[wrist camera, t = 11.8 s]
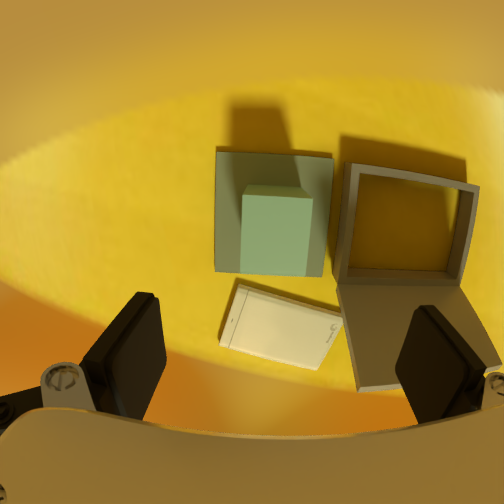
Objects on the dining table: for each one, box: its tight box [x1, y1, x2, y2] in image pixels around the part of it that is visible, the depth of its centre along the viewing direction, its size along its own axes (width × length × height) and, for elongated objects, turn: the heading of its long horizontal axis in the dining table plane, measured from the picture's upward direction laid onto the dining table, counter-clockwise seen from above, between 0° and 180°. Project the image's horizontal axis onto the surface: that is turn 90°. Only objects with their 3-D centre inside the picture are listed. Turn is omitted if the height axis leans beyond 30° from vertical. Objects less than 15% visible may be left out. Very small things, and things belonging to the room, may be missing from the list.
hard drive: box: [219, 284, 343, 370], centre depth 33 cm, size 2×8×12 cm
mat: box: [215, 152, 334, 277], centre depth 28 cm, size 11×12×1 cm
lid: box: [336, 284, 502, 393], centre depth 23 cm, size 16×12×2 cm
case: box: [332, 162, 480, 286], centre depth 27 cm, size 16×12×2 cm
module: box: [240, 184, 313, 277], centre depth 25 cm, size 5×6×7 cm
